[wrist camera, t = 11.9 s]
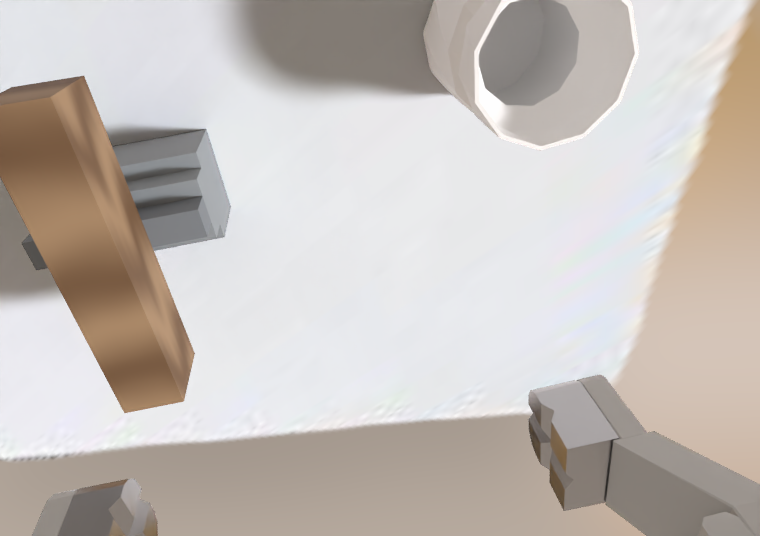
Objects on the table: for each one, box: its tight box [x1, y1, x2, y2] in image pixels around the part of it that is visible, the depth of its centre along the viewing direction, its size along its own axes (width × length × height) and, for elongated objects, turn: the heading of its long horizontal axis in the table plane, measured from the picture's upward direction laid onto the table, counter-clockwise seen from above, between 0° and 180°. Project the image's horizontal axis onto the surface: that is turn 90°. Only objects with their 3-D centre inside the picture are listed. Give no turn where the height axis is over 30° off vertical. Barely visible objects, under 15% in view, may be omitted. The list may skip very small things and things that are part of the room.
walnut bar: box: [0, 76, 195, 413], centre depth 30 cm, size 18×4×4 cm, turn 7°
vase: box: [423, 0, 639, 151], centre depth 32 cm, size 9×9×12 cm
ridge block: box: [22, 129, 231, 270], centre depth 35 cm, size 6×10×9 cm, turn 98°
